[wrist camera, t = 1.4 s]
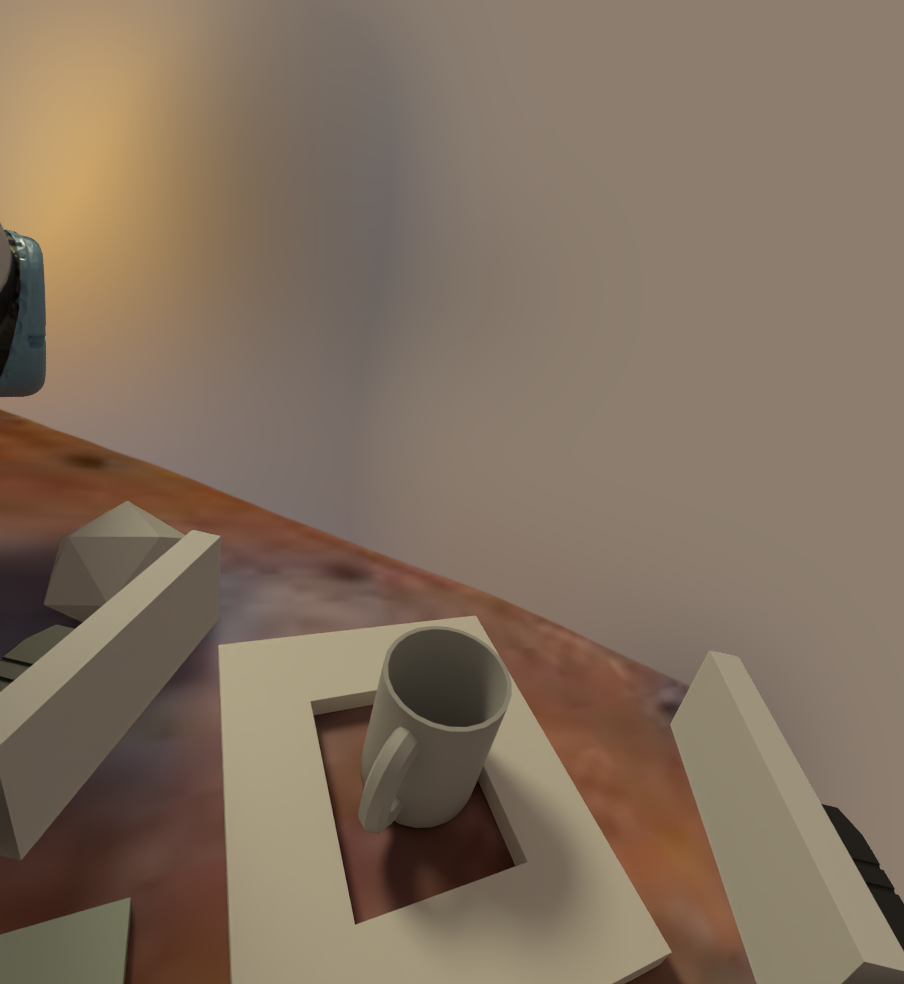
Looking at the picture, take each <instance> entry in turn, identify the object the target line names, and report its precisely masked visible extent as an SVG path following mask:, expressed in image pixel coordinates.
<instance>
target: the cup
mask: <svg viewBox="0 0 904 984" xmlns="http://www.w3.org/2000/svg"><path fill="white" fill-rule="evenodd" d="M511 696H512V682H511V679H510V676H509V673H508V669H507V668H506V666H505V664H504V663H503V661H502V660H501V658H500V656H499V655H498V654H497V653H496V652H495V651H494V650H493V649H492V648H491V647H490V646H489V645H487V644H486V643H484V642H483V641H481V640H480V639H479V638H477V637H475V636H473V635H471V634H469V633H466V632H464V631H462V630H458V629H454V628H450V627H442V626H428V627H421V628H416V629H414V630H411V631H409V632H406V633H404V634H403V635H402V636H400V637H399V638H397V639H396V640H395V641H394V642H393V643H392V645H391V646H390V648H389V649H388V650H387V653H386V656H385V659H384V663H383V667H382V671H381V675H380V679H379V684H378V688H377V692H376V696H375V701H374V705H373V709H372V713H371V718H370V722H369V726H368V730H367V735H366V739H365V743H364V747H363V752H362V757H361V778H362V781H363V785H364V790H363V794H362V798H361V802H360V806H359V812H358V818H359V820H360V822H361V824H362V826H363V828H364V829H365V830H366V831H367V832H371V833H376V834H379V833H380V832H382V831H383V830H384V829H385V828H387V827H388V826H389V825H390V824H391V823H392V822H393V821H395V822H397V823H399V824H402V825H406V826H410V827H414V828H430V827H435V826H438V825H441V824H444V823H447V822H448V821H449V820H451V819H452V818H454V817H455V816H456V815H458V814H459V813H460V811H461V810H462V809H463V807H464V806H465V805H466V803H467V802H468V800H469V798H470V797H471V794H472V792H473V790H474V787H475V785H476V782H477V780H478V778H479V775H480V773H481V770H482V768H483V765H484V763H485V761H486V758H487V756H488V753H489V751H490V749H491V746H492V744H493V741H494V739H495V737H496V734H497V732H498V729H499V727H500V724H501V722H502V720H503V717H504V715H505V712H506V710H507V707H508V705H509V702H510V699H511Z"/></svg>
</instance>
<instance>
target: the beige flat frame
mask: <svg viewBox="0 0 904 984" xmlns="http://www.w3.org/2000/svg"><path fill="white" fill-rule="evenodd" d="M428 626H442V627H450V628H454V629H458V630H462V631H464V632H466V633H469V634H471V635H473V636H475V637H477V638H479V639H480V640H481V641H483V642H484V643H486V644H487V645H489V646H490V647H491V648H492V649H493V650H494V651H495V652H496V653H497V651H496V650H495V648H494V646H493V644H492V643H491V641H490V639H489V638H488V636H487V634H486V632H485V631H484V629H483V627H482V626H481V624H480V622H479V620H478V619H477V617H476V616H468V617H459V618H451V619H442V620H433V621H424V622H416V623H407V624H398V625H390V626H381V627H372V628H363V629H355V630H346V631H337V632H328V633H320V634H311V635H302V636H294V637H285V638H276V639H267V640H259V641H250V642H241V643H233V644H224V645H219V649H218V669H219V696H220V723H221V749H222V776H223V803H224V829H225V856H226V882H227V909H228V936H229V962H230V984H625V983H627V982H629V981H631V980H633V979H635V978H637V977H638V976H640V975H642V974H644V973H646V972H648V971H650V970H651V969H653V968H655V967H657V966H659V965H660V964H661V963H662V962H663V961H664V960H665V959H666V958H667V957H668V956H669V954H670V953H671V950H670V948H669V947H668V945H667V943H666V941H665V940H664V938H663V936H662V935H661V933H660V931H659V929H658V928H657V926H656V924H655V923H654V921H653V919H652V917H651V916H650V914H649V912H648V911H647V909H646V907H645V905H644V904H643V902H642V900H641V899H640V897H639V895H638V893H637V892H636V890H635V888H634V887H633V885H632V883H631V881H630V880H629V878H628V876H627V875H626V873H625V871H624V869H623V868H622V866H621V864H620V863H619V861H618V859H617V857H616V856H615V854H614V852H613V851H612V849H611V847H610V845H609V844H608V842H607V840H606V838H605V837H604V835H603V833H602V832H601V830H600V828H599V826H598V825H597V823H596V821H595V820H594V818H593V816H592V814H591V813H590V811H589V809H588V808H587V806H586V804H585V802H584V801H583V799H582V797H581V796H580V794H579V792H578V790H577V789H576V787H575V785H574V784H573V782H572V780H571V778H570V777H569V775H568V773H567V772H566V770H565V768H564V766H563V765H562V763H561V761H560V760H559V758H558V756H557V754H556V753H555V751H554V749H553V748H552V746H551V744H550V742H549V741H548V739H547V737H546V735H545V734H544V732H543V730H542V729H541V727H540V725H539V723H538V722H537V720H536V718H535V717H534V715H533V713H532V711H531V710H530V708H529V706H528V705H527V703H526V701H525V699H524V698H523V696H522V694H521V693H520V691H519V689H518V687H517V686H516V684H515V682H514V681H513V679H512V677H511V675H510V674H509V676H510V679H511V682H512V696H511V699H510V702H509V705H508V707H507V710H506V712H505V715H504V717H503V720H502V722H501V724H500V727H499V729H498V732H497V734H496V737H495V739H494V741H493V744H492V746H491V749H490V751H489V753H488V756H487V758H486V761H485V763H484V765H483V768H482V770H481V773H480V775H479V778H478V782H479V784H480V786H481V789H482V791H483V793H484V795H485V798H486V800H487V802H488V805H489V807H490V809H491V811H492V814H493V816H494V818H495V821H496V823H497V825H498V828H499V830H500V832H501V834H502V837H503V839H504V841H505V844H506V846H507V848H508V850H509V853H510V855H511V857H512V860H513V862H514V864H515V867H513V868H510V869H507V870H504V871H502V872H499V873H496V874H493V875H491V876H488V877H485V878H482V879H480V880H477V881H474V882H472V883H469V884H466V885H463V886H461V887H458V888H455V889H452V890H450V891H447V892H444V893H441V894H439V895H436V896H433V897H430V898H428V899H425V900H422V901H419V902H417V903H414V904H411V905H409V906H406V907H403V908H400V909H398V910H395V911H392V912H389V913H387V914H384V915H381V916H378V917H376V918H373V919H370V920H367V921H365V922H362V923H359V924H356V925H355V922H354V917H353V912H352V907H351V902H350V897H349V892H348V887H347V882H346V877H345V872H344V867H343V862H342V857H341V852H340V847H339V842H338V837H337V832H336V827H335V822H334V817H333V812H332V807H331V802H330V797H329V792H328V787H327V782H326V777H325V772H324V767H323V762H322V757H321V752H320V747H319V742H318V737H317V732H316V727H315V722H314V717H313V715H319V714H324V713H330V712H335V711H341V710H346V709H352V708H357V707H363V706H369V705H374V701H375V696H376V692H377V688H378V684H379V679H380V675H381V671H382V667H383V663H384V659H385V656H386V653H387V650H388V649H389V648H390V646H391V645H392V643H393V642H394V641H395V640H396V639H397V638H399V637H400V636H402V635H403V634H404V633H406V632H409V631H411V630H414V629H416V628H421V627H428ZM497 654H498V653H497ZM508 673H509V672H508Z"/></svg>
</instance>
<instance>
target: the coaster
mask: <svg viewBox="0 0 904 984" xmlns="http://www.w3.org/2000/svg"><path fill="white" fill-rule="evenodd" d="M131 907H132V905H131V897H129V898H126V899H122V900H119V901H116V902H112V903H109V904H105V905H102V906H98V907H95V908H91V909H88V910H84V911H81V912H77V913H74V914H70V915H67V916H63V917H60V918H56V919H53V920H49V921H46V922H42V923H39V924H35V925H32V926H28V927H25V928H21V929H18V930H14V931H11V932H7V933H4V934H0V984H125V976H126V964H127V953H128V941H129V930H130V918H131Z"/></svg>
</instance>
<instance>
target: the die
mask: <svg viewBox="0 0 904 984" xmlns="http://www.w3.org/2000/svg"><path fill="white" fill-rule="evenodd" d="M183 537H185V535H184V534H182V533H180V532H179V531H177V530H175V529H174V528H172V527H170V526H169V525H167V524H165V523H164V522H162V521H160V520H159V519H157V518H155V517H154V516H152V515H150V514H149V513H147V512H145V511H144V510H142V509H140V508H139V507H137V506H135V505H134V504H132V503H130V502H129V501H126V502H125V503H123V504H121V505H119V506H117V507H116V508H114V509H112V510H110V511H109V512H107V513H105V514H103V515H102V516H100V517H98V518H96V519H95V520H93V521H91V522H89V523H87V524H86V525H84V526H82V527H80V528H79V529H77V530H75V531H73V532H72V533H70V534H68V535H66V536H65V537H63V538H61V539H60V543H59V547H58V551H57V555H56V559H55V562H54V566H53V570H52V574H51V578H50V582H49V586H48V589H47V593H46V597H45V601H44V605H45V606H48V607H50V608H52V609H54V610H56V611H58V612H61V613H63V614H65V615H67V616H69V617H72V618H74V619H76V620H78V621H80V622H82V623H83V622H84V621H85V620H86V619H88V618H89V617H90V616H91V615H92V614H93V613H95V612H96V611H97V610H98V609H99V608H101V607H102V606H103V605H104V604H105V603H106V602H108V601H109V600H110V599H111V598H112V597H114V596H115V595H116V594H117V593H118V592H120V591H121V590H122V589H123V588H124V587H125V586H127V585H128V584H129V583H130V582H131V581H133V580H134V579H135V578H136V577H137V576H138V575H140V574H141V573H142V572H143V571H144V570H146V569H147V568H148V567H149V566H150V565H152V564H153V563H154V562H155V561H156V560H157V559H159V558H160V557H161V556H162V555H163V554H165V553H166V552H167V551H168V550H169V549H170V548H172V547H173V546H174V545H175V544H176V543H178V542H179V541H180V540H181V539H182V538H183Z"/></svg>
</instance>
